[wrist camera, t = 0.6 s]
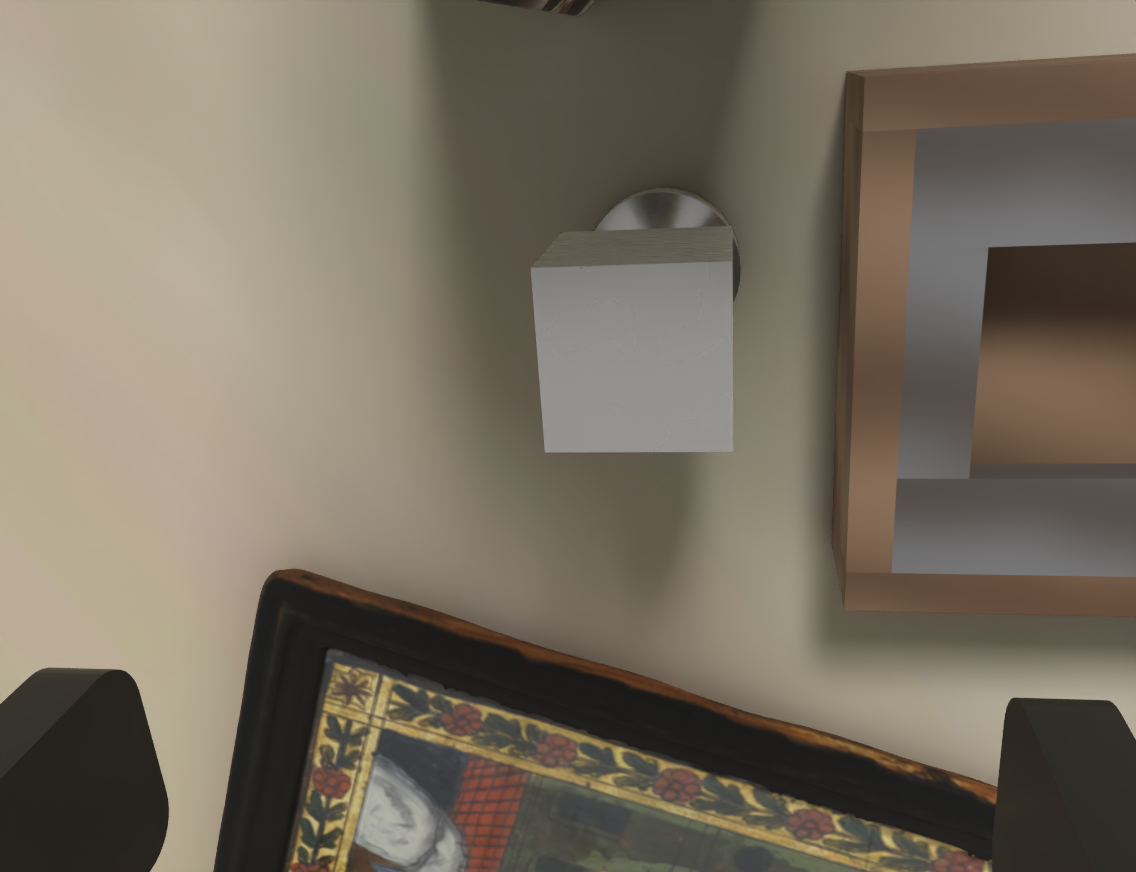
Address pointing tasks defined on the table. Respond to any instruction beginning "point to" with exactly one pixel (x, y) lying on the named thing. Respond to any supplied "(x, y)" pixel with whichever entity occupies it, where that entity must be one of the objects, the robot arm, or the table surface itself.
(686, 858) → the framed painting
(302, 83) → the table surface
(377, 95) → the table surface
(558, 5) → the coffee box
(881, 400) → the keyhole box
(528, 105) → the table surface
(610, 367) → the keyhole stud
